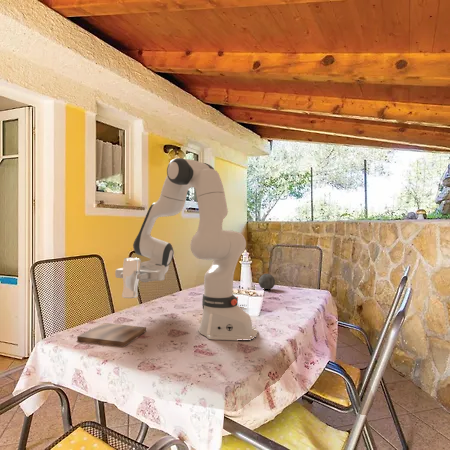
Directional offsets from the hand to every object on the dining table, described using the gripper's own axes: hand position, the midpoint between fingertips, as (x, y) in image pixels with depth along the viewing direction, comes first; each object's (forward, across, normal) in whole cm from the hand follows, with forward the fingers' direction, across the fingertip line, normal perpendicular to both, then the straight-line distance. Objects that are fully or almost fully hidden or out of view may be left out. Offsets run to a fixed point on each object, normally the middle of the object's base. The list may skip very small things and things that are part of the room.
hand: (130, 276), depth 133 cm
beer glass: (-1, -1, +8) cm, 8 cm away
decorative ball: (-89, +43, +20) cm, 101 cm away
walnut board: (+11, 0, +20) cm, 23 cm away
